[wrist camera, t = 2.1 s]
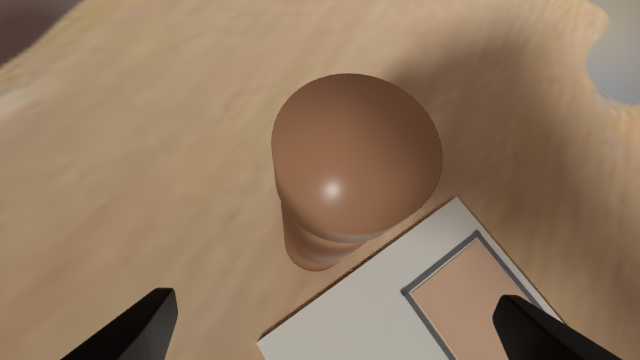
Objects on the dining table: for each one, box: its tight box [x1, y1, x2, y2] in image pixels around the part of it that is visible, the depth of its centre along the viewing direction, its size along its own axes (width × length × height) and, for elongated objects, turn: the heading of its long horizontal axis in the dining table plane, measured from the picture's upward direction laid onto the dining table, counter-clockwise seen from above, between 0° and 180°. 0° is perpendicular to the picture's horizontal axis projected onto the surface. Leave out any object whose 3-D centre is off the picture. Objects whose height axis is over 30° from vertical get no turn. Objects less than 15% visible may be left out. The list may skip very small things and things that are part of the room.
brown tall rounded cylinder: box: [271, 73, 442, 271], centre depth 13 cm, size 4×4×13 cm
